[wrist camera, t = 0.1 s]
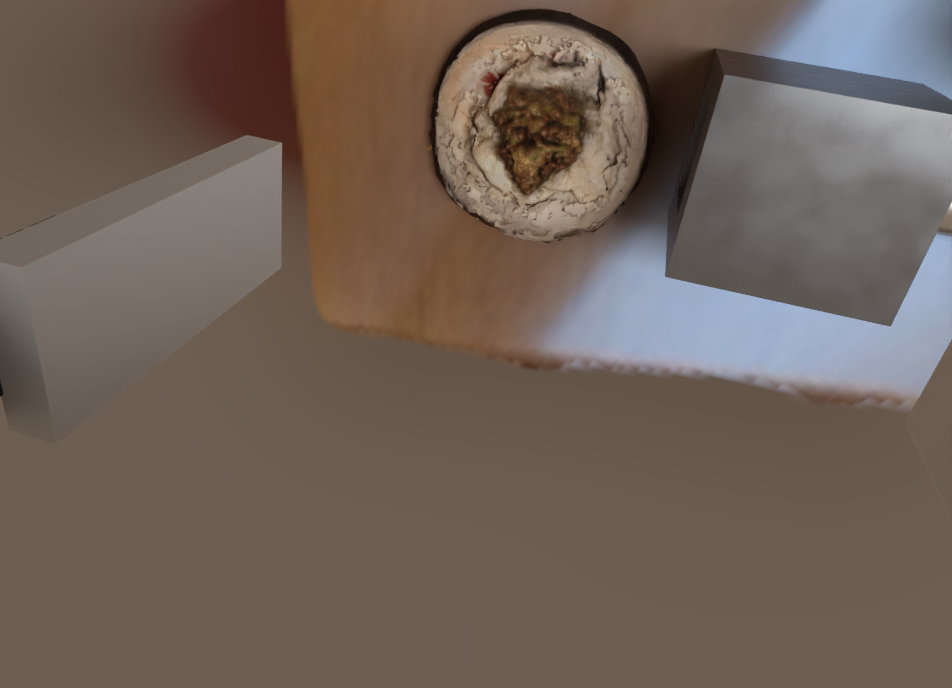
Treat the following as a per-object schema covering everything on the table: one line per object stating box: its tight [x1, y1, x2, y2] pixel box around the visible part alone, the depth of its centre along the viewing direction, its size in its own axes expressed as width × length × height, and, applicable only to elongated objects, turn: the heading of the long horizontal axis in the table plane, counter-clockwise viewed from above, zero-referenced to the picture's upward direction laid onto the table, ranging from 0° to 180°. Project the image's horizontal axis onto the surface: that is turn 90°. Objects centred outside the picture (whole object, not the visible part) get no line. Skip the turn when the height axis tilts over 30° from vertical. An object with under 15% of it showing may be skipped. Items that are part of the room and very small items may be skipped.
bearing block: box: [665, 48, 952, 326], centre depth 34 cm, size 10×9×9 cm
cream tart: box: [428, 9, 654, 243], centre depth 39 cm, size 15×15×4 cm
